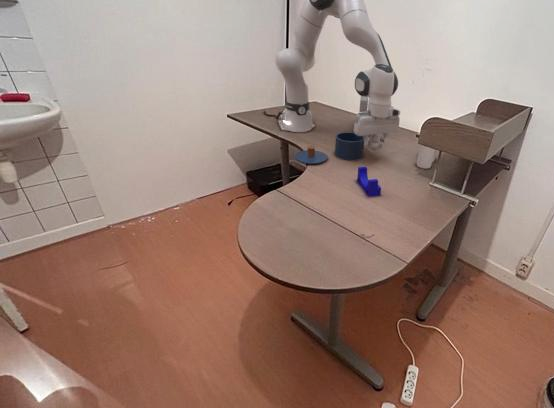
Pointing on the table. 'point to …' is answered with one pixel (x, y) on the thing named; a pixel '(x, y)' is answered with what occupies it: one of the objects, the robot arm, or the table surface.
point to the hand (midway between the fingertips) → (374, 143)
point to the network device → (363, 103)
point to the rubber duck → (374, 143)
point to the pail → (349, 146)
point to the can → (425, 157)
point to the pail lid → (311, 156)
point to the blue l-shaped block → (368, 183)
